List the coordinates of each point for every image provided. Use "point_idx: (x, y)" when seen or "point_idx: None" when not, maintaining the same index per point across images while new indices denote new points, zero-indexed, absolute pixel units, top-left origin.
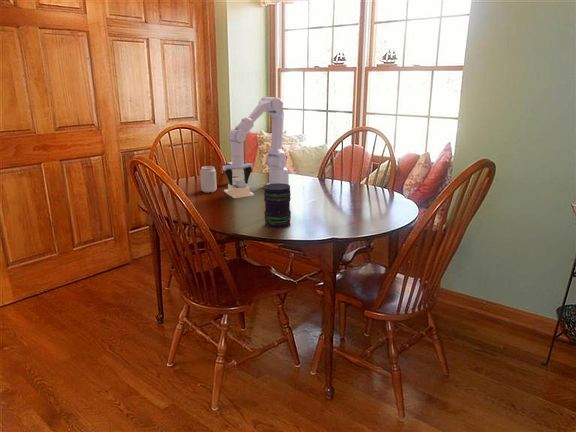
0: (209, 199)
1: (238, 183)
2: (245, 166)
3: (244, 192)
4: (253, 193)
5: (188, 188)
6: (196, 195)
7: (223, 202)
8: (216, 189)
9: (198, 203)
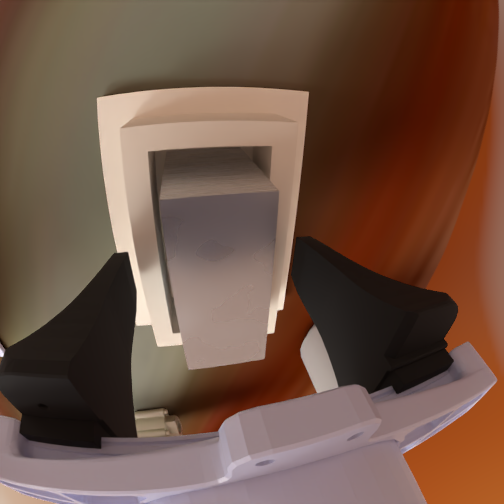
0: (427, 165)
1: (263, 181)
2: (111, 462)
3: (191, 115)
4: (100, 110)
5: None
6: (418, 273)
7: (402, 44)
8: (311, 330)
9: (481, 126)
